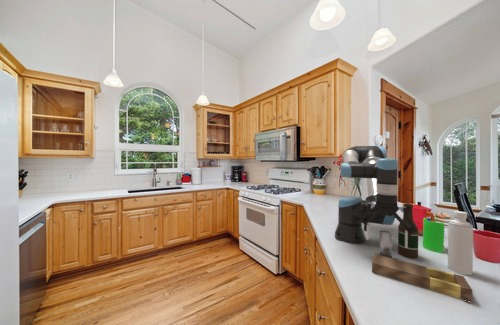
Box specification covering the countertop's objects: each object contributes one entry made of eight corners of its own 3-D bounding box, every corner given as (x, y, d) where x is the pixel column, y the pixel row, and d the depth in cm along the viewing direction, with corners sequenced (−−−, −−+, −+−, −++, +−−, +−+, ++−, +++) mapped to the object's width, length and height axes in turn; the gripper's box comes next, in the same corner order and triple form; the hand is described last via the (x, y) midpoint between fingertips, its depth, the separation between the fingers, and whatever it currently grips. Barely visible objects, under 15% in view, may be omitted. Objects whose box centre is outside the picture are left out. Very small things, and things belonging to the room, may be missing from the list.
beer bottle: (413, 261, 83) (414, 206, 83) (393, 253, 90) (394, 202, 90) (422, 257, 87) (422, 204, 87) (402, 250, 94) (402, 201, 94)
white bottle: (476, 277, 72) (477, 211, 72) (451, 272, 75) (452, 208, 75) (467, 268, 78) (468, 207, 78) (444, 264, 81) (445, 205, 81)
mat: (372, 261, 83) (372, 260, 83) (374, 253, 90) (374, 252, 90) (398, 268, 78) (399, 267, 78) (398, 259, 85) (398, 258, 85)
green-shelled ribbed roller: (450, 253, 91) (451, 215, 91) (430, 251, 93) (431, 214, 93) (436, 245, 100) (436, 211, 100) (418, 243, 102) (418, 210, 102)
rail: (371, 273, 74) (372, 262, 74) (373, 263, 81) (373, 253, 81) (472, 303, 59) (472, 290, 59) (463, 287, 66) (463, 276, 66)
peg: (379, 260, 83) (379, 232, 83) (379, 256, 87) (380, 229, 87) (392, 263, 81) (392, 235, 81) (392, 259, 84) (392, 232, 84)
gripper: (353, 191, 88) (352, 238, 88) (426, 198, 73) (425, 254, 73) (355, 190, 94) (355, 233, 94) (423, 196, 79) (423, 247, 79)
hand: (386, 242), depth 84 cm, fingers open, 13 cm apart
